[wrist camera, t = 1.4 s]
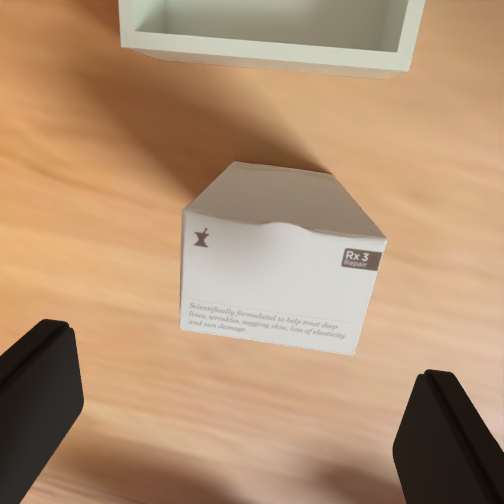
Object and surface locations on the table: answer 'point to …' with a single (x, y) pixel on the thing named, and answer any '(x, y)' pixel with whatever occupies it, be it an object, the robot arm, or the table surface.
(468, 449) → the robot arm
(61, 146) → the table surface
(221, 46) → the box
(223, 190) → the skincare box
